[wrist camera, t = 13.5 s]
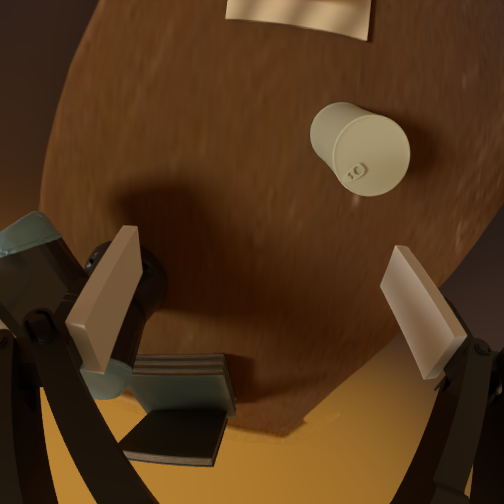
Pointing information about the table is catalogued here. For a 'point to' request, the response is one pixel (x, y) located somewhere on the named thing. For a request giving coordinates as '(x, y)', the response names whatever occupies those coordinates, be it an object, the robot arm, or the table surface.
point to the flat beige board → (307, 14)
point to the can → (361, 148)
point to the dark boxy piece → (180, 409)
